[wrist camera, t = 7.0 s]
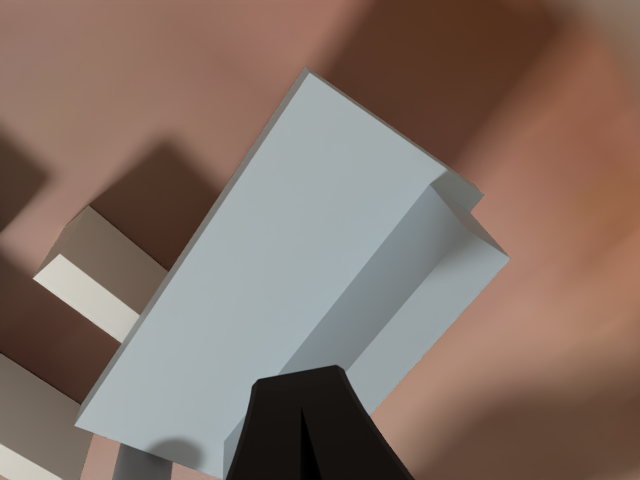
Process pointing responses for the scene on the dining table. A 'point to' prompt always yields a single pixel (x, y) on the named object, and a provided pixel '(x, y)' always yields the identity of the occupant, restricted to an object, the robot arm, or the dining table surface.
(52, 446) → the pale grey rectangular block
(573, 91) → the dining table surface
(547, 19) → the dining table surface
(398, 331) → the cover
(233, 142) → the dining table surface
